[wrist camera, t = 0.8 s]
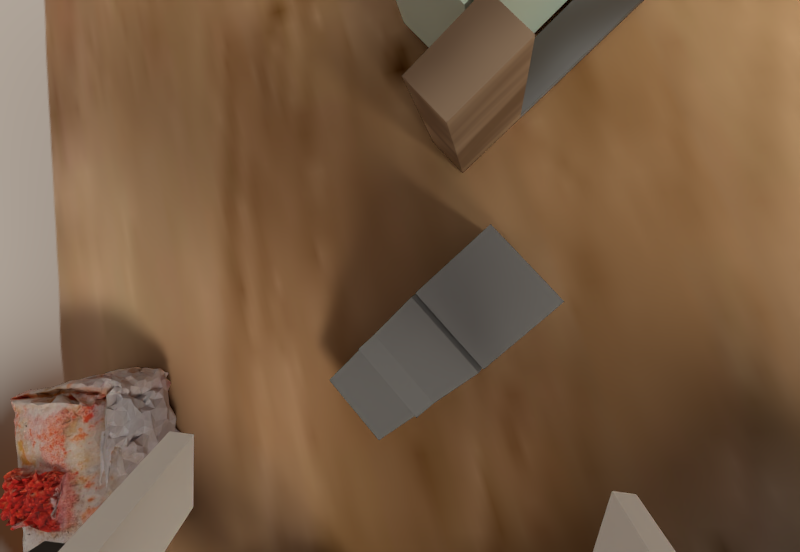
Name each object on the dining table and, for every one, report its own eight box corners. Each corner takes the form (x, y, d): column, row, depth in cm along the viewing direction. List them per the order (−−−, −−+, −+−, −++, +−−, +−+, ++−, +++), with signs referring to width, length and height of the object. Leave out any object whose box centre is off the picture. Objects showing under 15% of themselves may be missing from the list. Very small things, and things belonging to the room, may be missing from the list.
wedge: (543, 291, 27) (564, 301, 19) (390, 422, 30) (353, 478, 22) (491, 236, 28) (490, 224, 20) (345, 369, 30) (294, 404, 23)
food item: (104, 361, 35) (-43, 398, 25) (186, 357, 33) (61, 394, 24) (119, 523, 35) (-22, 621, 25) (202, 527, 33) (83, 634, 24)
